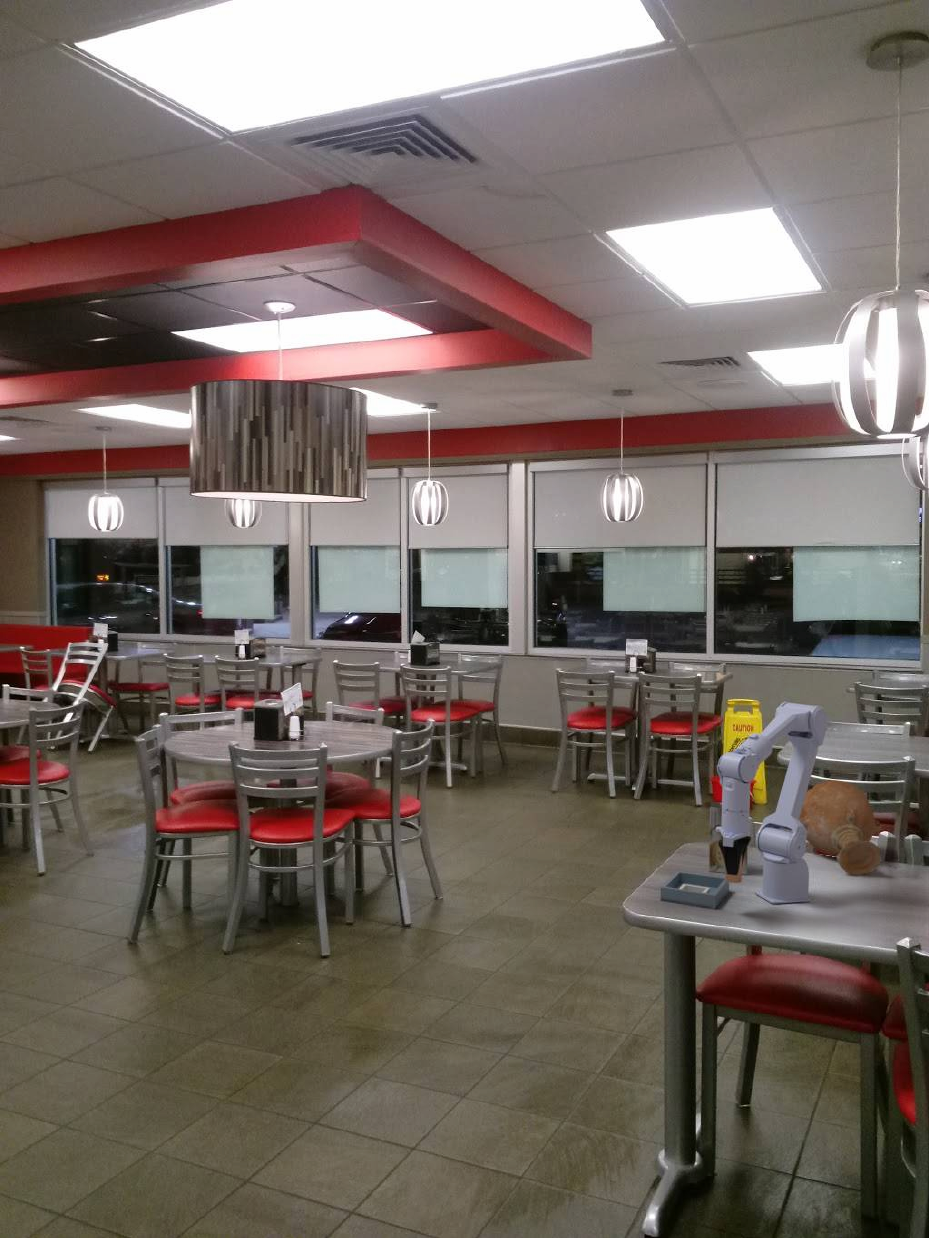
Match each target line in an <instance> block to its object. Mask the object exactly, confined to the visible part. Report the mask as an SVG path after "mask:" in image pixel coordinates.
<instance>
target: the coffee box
mask: <svg viewBox="0 0 929 1238" xmlns="http://www.w3.org/2000/svg"><path fill="white" fill-rule="evenodd" d="M721 826H722V801H720V802H719V801H711V802H710V807H709V845H708V846H709V847H708V849H709V853H708V857H709V860H708V872H712V873H722V874H723V873H724V874H726V867H725V862H724V857H723V854H722V851H721V849H720V847H719V845H718V841H719V840H723V836H722V834H721V832H717V831H716V827H721ZM742 875H744V876H746V875H748V848H747V849H746V852H745V856H744V860H743V865H742Z"/></svg>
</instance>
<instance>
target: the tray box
mask: <svg viewBox="0 0 929 1238" xmlns="http://www.w3.org/2000/svg"><path fill="white" fill-rule="evenodd" d="M729 892H730V882H728V881H726V877H721V876H715V875H714V876H713V875H708V874H701V873H694V872H689V871H688V872H687V871H682V870H681V871H679V870H677V871H676V872H674V874H672V876H670V877H669V879H668V880H667V881H666V882H665V883H664V884H663V885H661V886H660V901H662V902H668V903H673V904H680V905H687V906H692V907H699V908H705V909H711V910H716V908H717V907H718V906H719V905H720V903H721V902H722V901H723V900H724V898H725V897H726V896H727V894H728V893H729Z"/></svg>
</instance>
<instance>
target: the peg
mask: <svg viewBox="0 0 929 1238" xmlns="http://www.w3.org/2000/svg"><path fill="white" fill-rule="evenodd" d="M742 875H743V874H742V856H741V860H740V866H739V871H738V874H737V875H729V874H727V872H726V873H725V878H726V881H728V882H729V883H733V884H735V883H736V884H737V883H738V884H740V883H742Z"/></svg>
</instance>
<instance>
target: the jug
mask: <svg viewBox="0 0 929 1238" xmlns="http://www.w3.org/2000/svg"><path fill="white" fill-rule="evenodd" d="M874 816H875V815H874V810H873V808H872V805H871V803H870V801H869V799H868V797H867V796H866V794H865V793H864V792H863V791H862V790H861V789H860V788H858V787H857V786H856V785H853V784H851V783H849V782H847V781H841V780H828V781H823V782H819V783H817V784H815V785H814V786H813V787H812V788H811V789H807V792H806V796H805V799H804V803H803V806H802V810H801V814H800V817H799V820H800V821H801V823H802V824H803V825H804V827H805V828H806V830H807V831H808V833H807V837H806V842H808V843H809V844H810V845H811V846H813V847H814V848H815V849H816V850H818V851H819V852H821V853H823V854H826V855H829V856H832V857H835V858H836V859H837V861H838V864H839V866H840V868H841V869H842V871H844V872H845V873H846V874H848V875H850V876H851V875H852V876H863V875H867V874H871V873H873V872H874V871H876V869H877V868H878V867H879V865H880V863H881V862H882V860H883V857H882V855H881V850H880V848H879V846H878V845H876V844H875V843H873V842H871V839H872V837H873V835H874V834H877V833H880V832H881V831H882V828H883V825H882V824H881V823H880V821H879V820H877V819H875V817H874Z"/></svg>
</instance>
